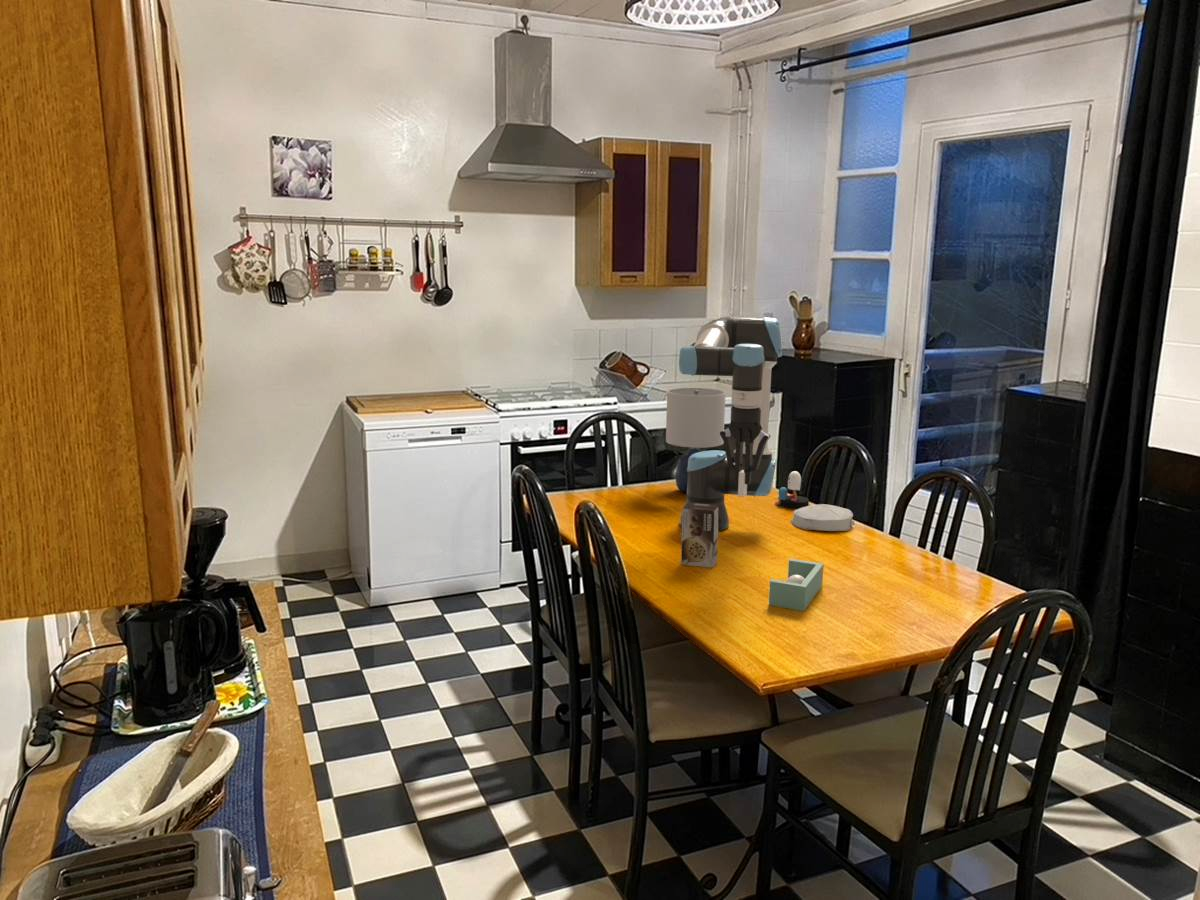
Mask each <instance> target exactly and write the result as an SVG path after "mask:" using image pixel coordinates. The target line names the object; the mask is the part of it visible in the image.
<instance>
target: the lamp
mask: <svg viewBox="0 0 1200 900" xmlns="http://www.w3.org/2000/svg"><path fill="white" fill-rule="evenodd" d="M725 411H726V391H725V390H721V389H716V388H707V387H676V388H670V389H668V390H667V391H666V417H665V419H666V422H665V423H666V424H665V425H666V426H665V442H666V443H667V444H669V445H672V446H675V447H683V448H688V450H687V452H686V453H684V454H682V455H681V456H680V457H679V458H678V461H677V464H676V469H675V485H676V487H677V489H679V491H680V492H682V493H684V494H687V477H688V471H687V468H688V460H689V457H690V456H691V455H692V454H695V453H698V452H702V451H701V449H702V448H715V447H719V446H722V445H724V441H723V439H722V437H721V435H720V432H721V431H723V430H725V418H726V417H725V416H726V413H725Z"/></svg>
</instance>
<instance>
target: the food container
mask: <svg viewBox="0 0 1200 900" xmlns="http://www.w3.org/2000/svg"><path fill="white" fill-rule="evenodd" d="M853 516H854V514H853V512H852V511H851V510H850V509H849V508H844V507H842V506H841V507H840V506H838V505H832V504H827V503H826V504H824V503H818V504H812V505H810V504H809V506H807V507H803V508H800V509H794V510H793V518H792V519H791V520H790V523H792V525H793V526H794V527H797V528H800V529H802V530H805V531H807V530H815V531H822V532H823V531H824V532H825V531H827V532H847V531H850V530H851V529H852V528H854V527H856V524H855V521H854V520H853Z"/></svg>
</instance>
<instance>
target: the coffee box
mask: <svg viewBox="0 0 1200 900" xmlns="http://www.w3.org/2000/svg"><path fill="white" fill-rule="evenodd" d="M685 504H686V503H685ZM685 504H684V506H683V507H682V508H681V515H682V526H681V555H680V556H681V557H680V558H681V559H680V560H681V561H680V565H682V566H692V567H702V568H710V569H713V568H714V567H716V565H717V563H718V559H719V558H718V555H719V554H718V552H719V550H718V549H719V531H718V524H719V505H713V504H702V503H689V502H688V503H687V504H686V505H685Z"/></svg>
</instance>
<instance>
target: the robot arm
mask: <svg viewBox="0 0 1200 900" xmlns="http://www.w3.org/2000/svg"><path fill="white" fill-rule="evenodd" d="M781 334H782V333H781V325H780V321H779V319H777V318H774V317H765V316H724V317H720V318H717V319H714V320H712V321H709V322H708V323H706V324H704V325H703V326H702V327H701V328H700V329H699V331H698V332H697V334H696V342H695V344H694V345H689V346H682V347H681V348H680V350H679V356H678V357H679V358H678V362H679V363H678V366H679V369H678V370H679V372H680V373H681V374H682V375H690V376H692V377H693V376H716V377H732V383H731V384H732V385H731V402H730V403H731V405H732V406H731V407H730V422H729V425H728V428H726V429H724V430H723V431H721V432H720V435H721V437H722V439H723V441H724V443H723V446H724V447H723V448H724V450H725V451H724V450H719V449H718V450H717V449H716V450H715V449H711V450H704V451H701V452H698V453H695V454H692V455H691V456H690V457H689V460H688V468H687V471H688V477H687V493H686V500H685V504H684V506H685V505H686V504H687V503H688V502H689V503H702V504H713V505H719V524H718V532H720V531H721V532H722V531H725V530H727V529H729V528H730V517H729V514H728V511H727V507H726V504H725V495H730V496H731V495H732V496H733V495H734V496H737V497H738V498H739V497H740V498H745V496H747V497H753V498H755V497H767V496H769V495H770V494H771V492H772V491H771V490H772V486H773V481H774V476H775V470H776V467H777V459H775V458H773V452H772V451H771V450H770V449H769V447H768V444H769V443H768V442H769V440H770V439H771V434H769V426H770V425H769V424H770V420H769V419H770V407H771V406H770V403H771V385H772V368H774V367H775V365H777V364H778V358H780V357H781V358H782V356H783V347H782V336H781ZM731 435H732V437H733V438H734V440H735V441H734V442H735V443H734V444H735V449H734V448H733V444H732V439H731ZM679 523H680V526H681V527H682V514H680V522H679Z"/></svg>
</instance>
